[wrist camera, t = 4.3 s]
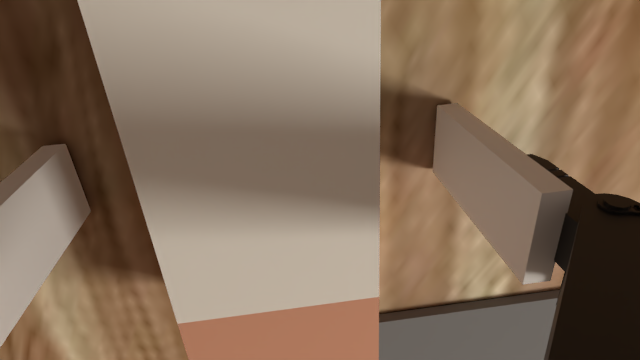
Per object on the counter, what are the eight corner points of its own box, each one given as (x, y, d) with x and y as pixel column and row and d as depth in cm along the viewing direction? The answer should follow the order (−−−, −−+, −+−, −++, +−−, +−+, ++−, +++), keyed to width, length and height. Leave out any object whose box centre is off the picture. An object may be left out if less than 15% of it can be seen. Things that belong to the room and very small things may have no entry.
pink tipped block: (139, -25, 12) (73, -14, 8) (341, -40, 13) (380, -37, 9) (213, 284, 18) (198, 389, 14) (351, 267, 19) (378, 363, 14)
